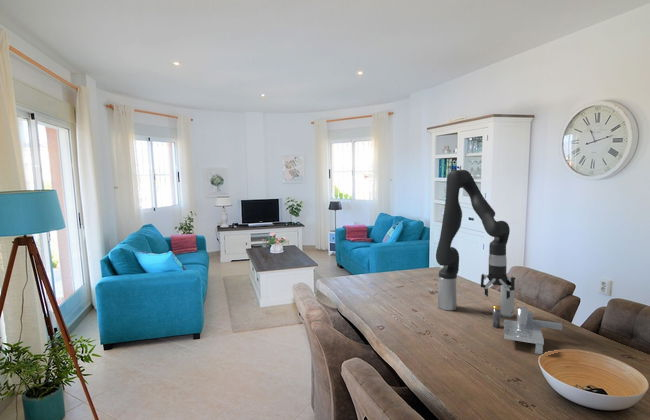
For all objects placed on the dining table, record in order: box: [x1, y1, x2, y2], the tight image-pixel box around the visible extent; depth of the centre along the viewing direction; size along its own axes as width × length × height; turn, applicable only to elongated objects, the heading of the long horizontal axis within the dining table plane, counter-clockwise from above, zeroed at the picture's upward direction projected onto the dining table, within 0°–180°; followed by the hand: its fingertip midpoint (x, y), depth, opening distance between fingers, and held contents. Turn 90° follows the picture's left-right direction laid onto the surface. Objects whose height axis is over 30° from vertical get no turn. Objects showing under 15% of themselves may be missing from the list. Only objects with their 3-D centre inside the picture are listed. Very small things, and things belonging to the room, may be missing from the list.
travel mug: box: [499, 276, 517, 319], centre depth 178 cm, size 6×7×20 cm
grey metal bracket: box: [503, 306, 563, 355], centre depth 148 cm, size 22×16×14 cm
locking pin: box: [492, 304, 501, 329], centre depth 166 cm, size 3×3×10 cm
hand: (497, 297), depth 165 cm, fingers open, 8 cm apart
